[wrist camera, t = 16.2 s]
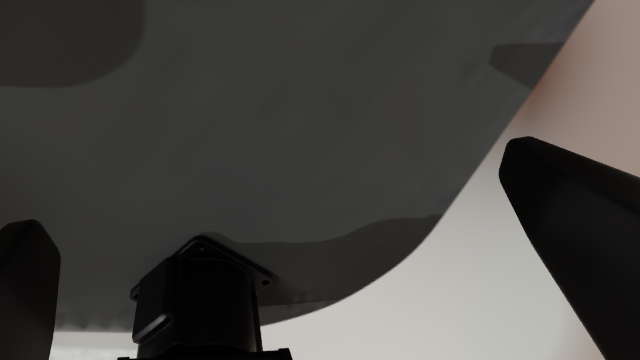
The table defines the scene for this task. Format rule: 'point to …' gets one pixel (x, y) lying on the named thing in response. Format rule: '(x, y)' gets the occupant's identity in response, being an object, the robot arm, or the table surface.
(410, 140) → the table surface
